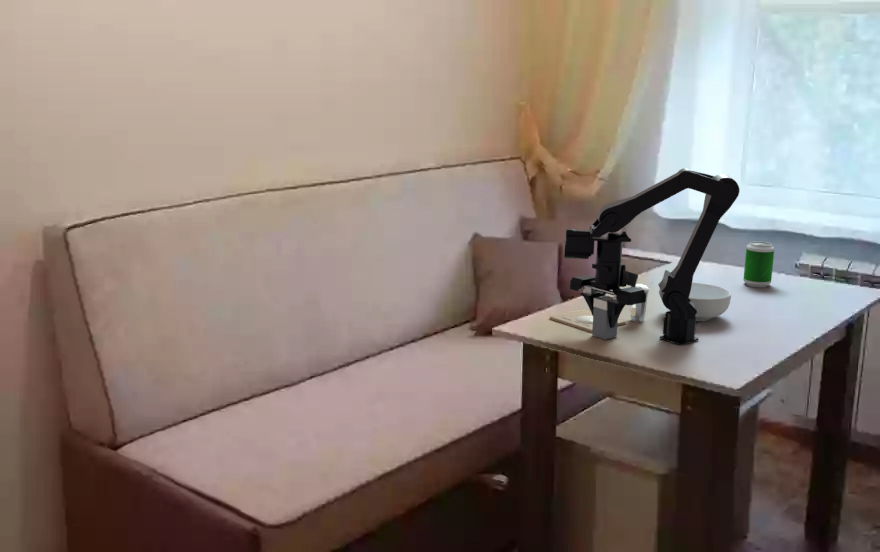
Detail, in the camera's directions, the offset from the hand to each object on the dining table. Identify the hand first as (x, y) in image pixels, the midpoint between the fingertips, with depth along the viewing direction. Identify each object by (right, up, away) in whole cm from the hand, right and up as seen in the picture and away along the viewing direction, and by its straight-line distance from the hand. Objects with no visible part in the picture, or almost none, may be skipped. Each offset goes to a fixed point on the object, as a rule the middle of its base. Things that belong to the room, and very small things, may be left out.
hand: (605, 325), depth 223 cm
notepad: (-2, 0, +13) cm, 13 cm away
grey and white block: (0, -2, +1) cm, 2 cm away
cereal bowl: (+25, +1, +18) cm, 31 cm away
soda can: (+52, +9, +51) cm, 73 cm away
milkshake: (+11, 0, +14) cm, 18 cm away
